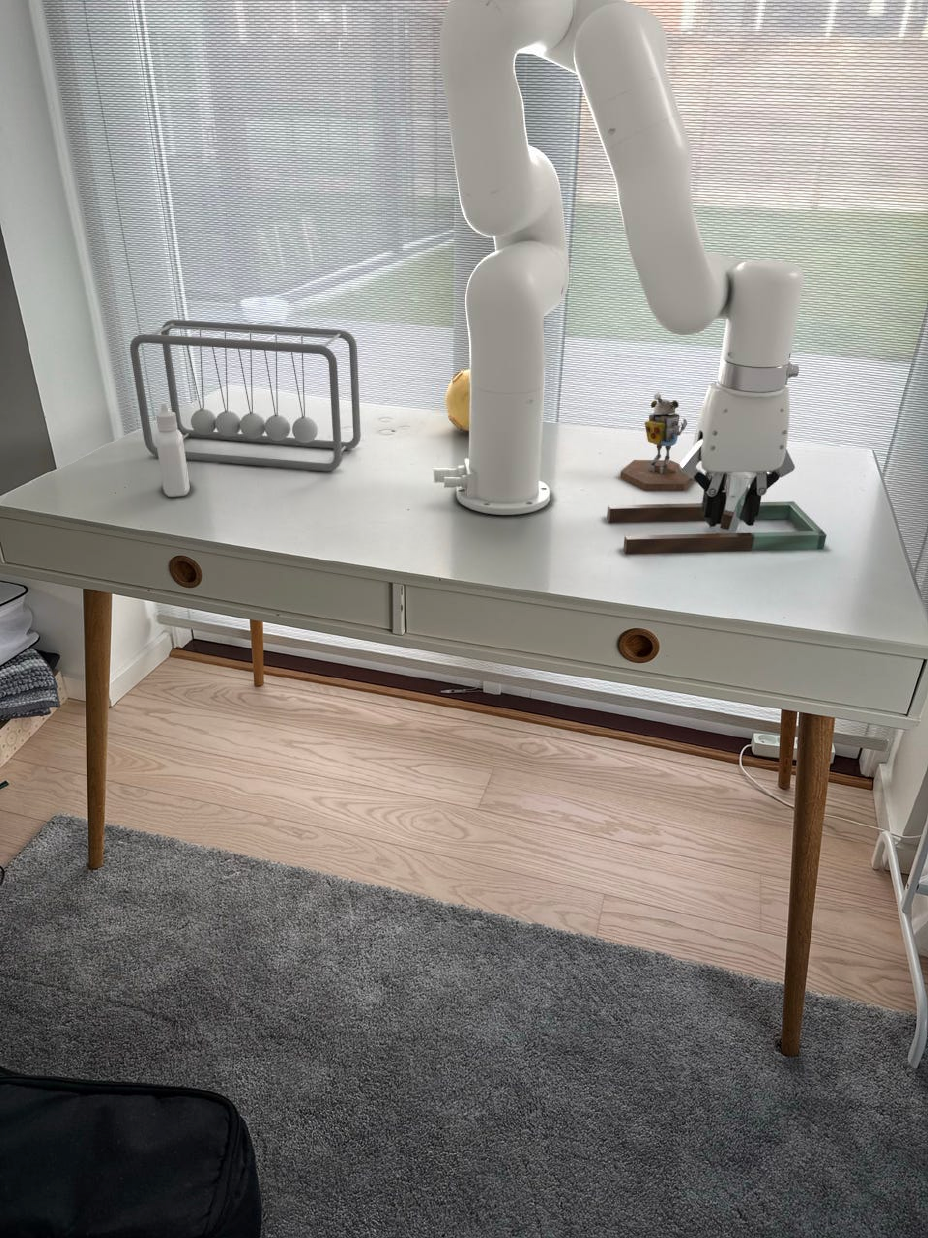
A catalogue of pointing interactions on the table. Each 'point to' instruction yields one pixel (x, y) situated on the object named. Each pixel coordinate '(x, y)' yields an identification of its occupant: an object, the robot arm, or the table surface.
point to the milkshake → (733, 500)
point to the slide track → (802, 539)
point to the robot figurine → (660, 433)
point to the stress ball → (459, 400)
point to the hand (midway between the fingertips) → (728, 520)
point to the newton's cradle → (252, 422)
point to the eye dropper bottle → (171, 454)
